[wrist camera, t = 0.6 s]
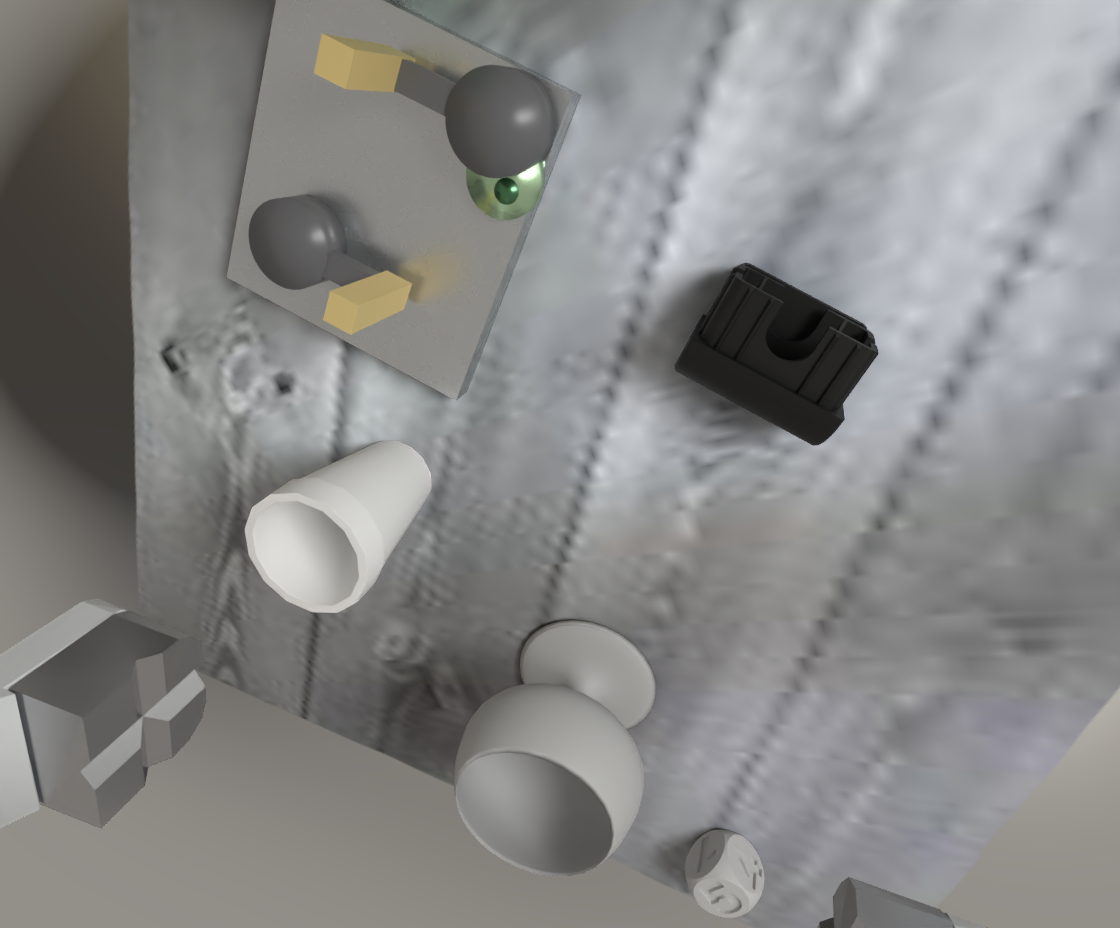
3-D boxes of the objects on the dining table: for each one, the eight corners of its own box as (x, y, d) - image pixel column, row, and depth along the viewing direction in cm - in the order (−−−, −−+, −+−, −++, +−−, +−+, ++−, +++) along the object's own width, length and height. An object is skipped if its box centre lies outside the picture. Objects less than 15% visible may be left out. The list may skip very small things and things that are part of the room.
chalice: (632, 594, 60) (582, 726, 47) (690, 730, 64) (660, 887, 51) (486, 623, 66) (406, 748, 53) (548, 746, 69) (488, 891, 56)
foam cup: (327, 469, 64) (224, 545, 52) (382, 399, 59) (282, 465, 48) (409, 544, 64) (325, 635, 53) (470, 481, 60) (392, 565, 49)
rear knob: (265, 259, 54) (189, 279, 48) (281, 179, 52) (202, 189, 45) (400, 332, 54) (342, 362, 47) (425, 255, 51) (367, 275, 44)
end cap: (682, 351, 51) (666, 381, 45) (735, 255, 47) (725, 275, 41) (813, 422, 50) (814, 462, 44) (877, 330, 47) (888, 361, 41)
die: (728, 820, 67) (723, 869, 62) (766, 857, 67) (763, 908, 63) (688, 839, 69) (679, 888, 65) (724, 875, 70) (719, 925, 65)
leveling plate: (303, -43, 47) (275, -52, 45) (587, 98, 46) (575, 97, 43) (244, 272, 58) (218, 279, 56) (472, 395, 57) (456, 407, 54)
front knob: (570, 93, 44) (527, 89, 37) (533, 191, 47) (487, 204, 40) (402, 10, 45) (330, -9, 38) (376, 111, 48) (305, 110, 41)
